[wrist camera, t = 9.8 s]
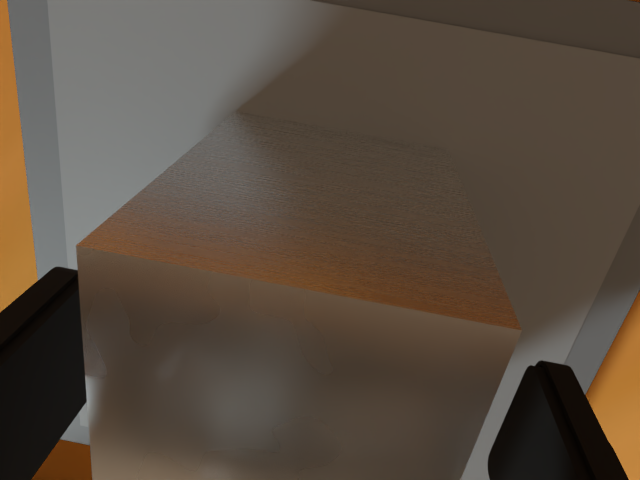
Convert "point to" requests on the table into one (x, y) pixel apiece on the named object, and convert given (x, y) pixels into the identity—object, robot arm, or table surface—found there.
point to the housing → (292, 313)
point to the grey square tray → (364, 129)
